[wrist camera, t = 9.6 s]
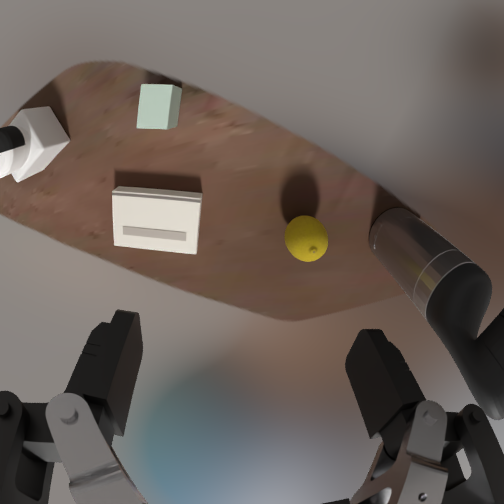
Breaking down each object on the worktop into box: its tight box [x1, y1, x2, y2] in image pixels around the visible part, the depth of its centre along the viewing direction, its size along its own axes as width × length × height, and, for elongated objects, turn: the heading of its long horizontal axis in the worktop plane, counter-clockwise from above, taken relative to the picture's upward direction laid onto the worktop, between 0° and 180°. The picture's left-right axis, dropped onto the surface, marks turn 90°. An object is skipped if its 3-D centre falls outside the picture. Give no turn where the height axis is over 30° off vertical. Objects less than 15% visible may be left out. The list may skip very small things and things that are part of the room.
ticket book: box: [112, 186, 203, 254], centre depth 38 cm, size 12×8×2 cm, turn 81°
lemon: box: [285, 216, 328, 262], centre depth 37 cm, size 6×6×8 cm
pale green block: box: [137, 84, 182, 129], centre depth 29 cm, size 4×5×6 cm
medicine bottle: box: [0, 106, 70, 182], centre depth 26 cm, size 7×7×12 cm
